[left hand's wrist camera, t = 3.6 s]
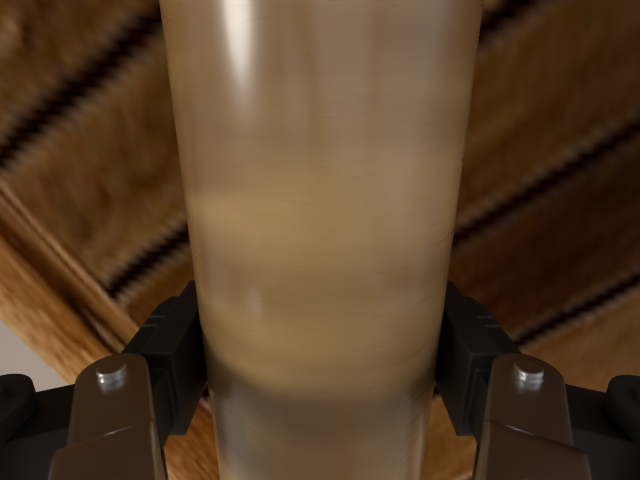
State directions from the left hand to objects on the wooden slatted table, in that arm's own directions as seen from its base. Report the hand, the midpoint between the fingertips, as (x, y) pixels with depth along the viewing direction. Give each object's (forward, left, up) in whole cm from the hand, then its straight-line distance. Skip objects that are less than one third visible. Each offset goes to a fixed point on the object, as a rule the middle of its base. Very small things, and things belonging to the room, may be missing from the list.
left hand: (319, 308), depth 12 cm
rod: (-7, +4, -2) cm, 8 cm away
